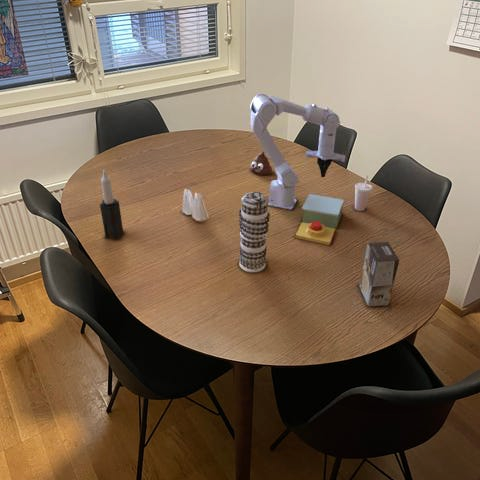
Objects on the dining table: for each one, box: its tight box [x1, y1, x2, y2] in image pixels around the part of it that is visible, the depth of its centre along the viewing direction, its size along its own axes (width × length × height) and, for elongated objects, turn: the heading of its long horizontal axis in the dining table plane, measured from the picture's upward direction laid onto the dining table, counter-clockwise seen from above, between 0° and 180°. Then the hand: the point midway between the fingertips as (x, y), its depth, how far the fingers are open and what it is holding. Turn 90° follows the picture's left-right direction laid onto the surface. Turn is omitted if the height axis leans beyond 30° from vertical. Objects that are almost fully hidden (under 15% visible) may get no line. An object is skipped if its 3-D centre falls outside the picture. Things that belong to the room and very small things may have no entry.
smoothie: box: [354, 175, 373, 212], centre depth 174 cm, size 6×6×14 cm
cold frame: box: [301, 203, 344, 230], centre depth 170 cm, size 12×11×5 cm
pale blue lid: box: [301, 193, 345, 216], centre depth 169 cm, size 13×11×1 cm
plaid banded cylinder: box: [238, 191, 271, 273], centre depth 141 cm, size 9×9×25 cm
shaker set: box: [181, 188, 210, 223], centre depth 168 cm, size 12×4×11 cm, turn 40°
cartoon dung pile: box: [249, 151, 273, 176], centre depth 201 cm, size 10×8×9 cm
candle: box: [99, 169, 124, 241], centre depth 154 cm, size 5×5×25 cm
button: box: [311, 221, 322, 231], centre depth 160 cm, size 4×4×2 cm
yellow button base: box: [295, 222, 336, 246], centre depth 162 cm, size 12×9×3 cm
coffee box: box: [359, 241, 400, 307], centre depth 132 cm, size 9×6×16 cm
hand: (323, 175), depth 178 cm, fingers closed
